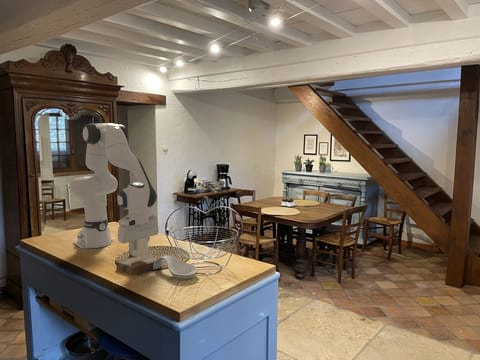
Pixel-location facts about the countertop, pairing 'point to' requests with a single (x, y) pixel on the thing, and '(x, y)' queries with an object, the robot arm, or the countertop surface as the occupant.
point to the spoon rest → (177, 267)
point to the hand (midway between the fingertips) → (139, 248)
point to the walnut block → (136, 265)
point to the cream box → (140, 247)
